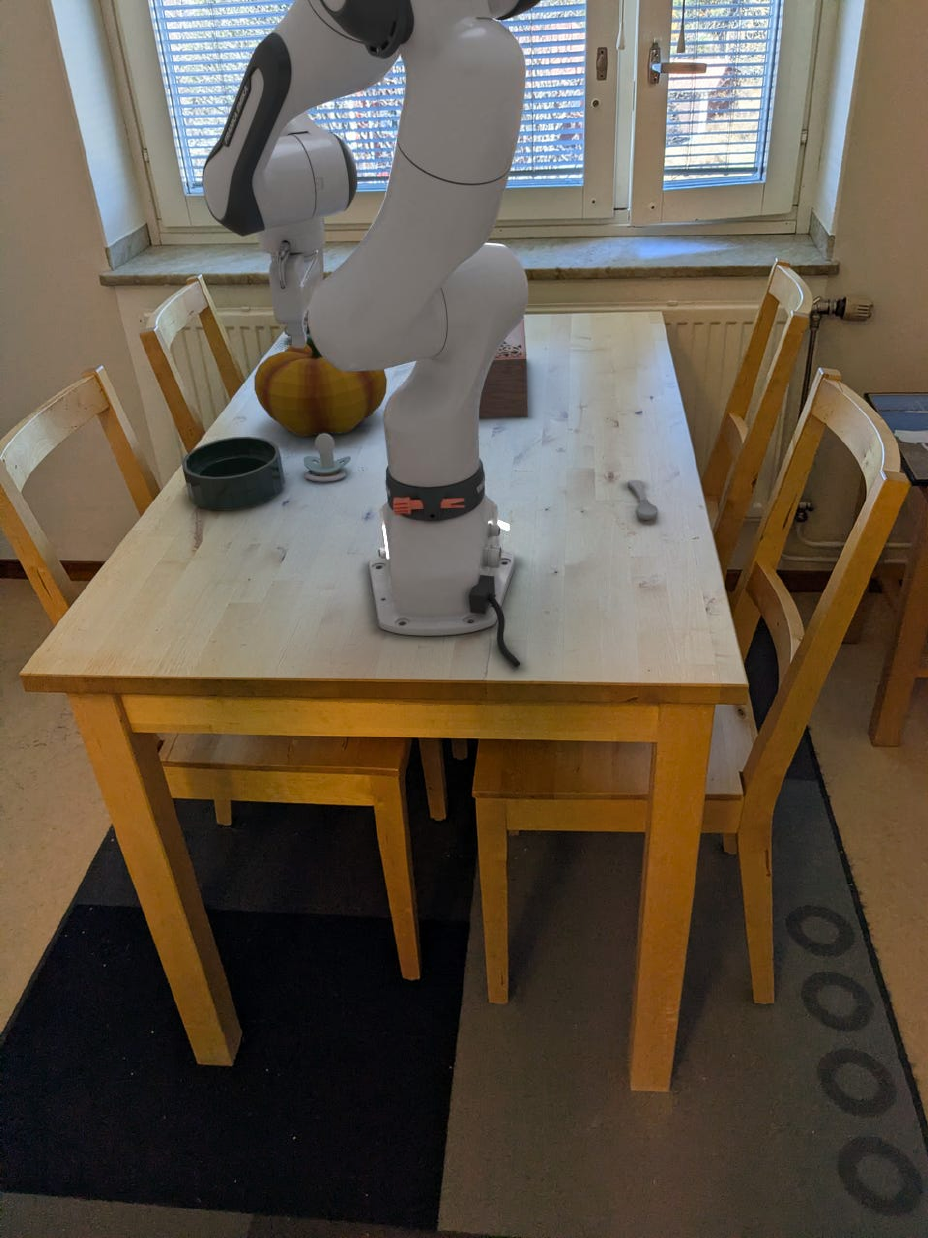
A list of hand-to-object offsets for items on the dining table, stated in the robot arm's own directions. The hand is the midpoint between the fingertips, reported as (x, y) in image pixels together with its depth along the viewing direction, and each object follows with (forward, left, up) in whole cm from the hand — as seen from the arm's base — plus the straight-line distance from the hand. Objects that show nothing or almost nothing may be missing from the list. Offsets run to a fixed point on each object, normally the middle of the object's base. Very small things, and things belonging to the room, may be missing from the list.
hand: (305, 334), depth 138 cm
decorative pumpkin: (+20, +3, -22) cm, 30 cm away
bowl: (-4, +13, -22) cm, 26 cm away
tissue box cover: (+32, -24, -22) cm, 46 cm away
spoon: (-13, -46, -22) cm, 53 cm away
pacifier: (0, 0, -22) cm, 22 cm away
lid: (+64, +13, -22) cm, 69 cm away
